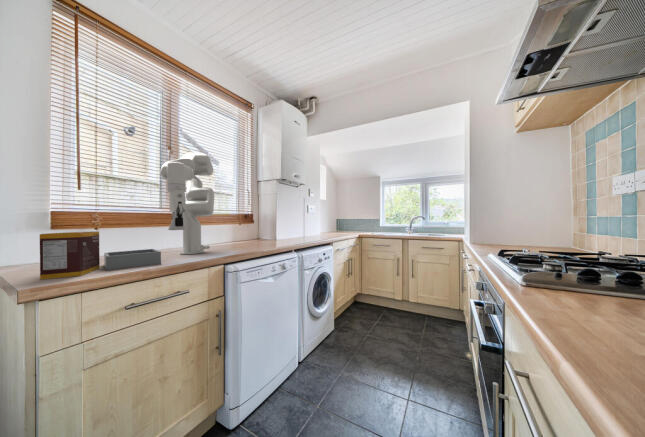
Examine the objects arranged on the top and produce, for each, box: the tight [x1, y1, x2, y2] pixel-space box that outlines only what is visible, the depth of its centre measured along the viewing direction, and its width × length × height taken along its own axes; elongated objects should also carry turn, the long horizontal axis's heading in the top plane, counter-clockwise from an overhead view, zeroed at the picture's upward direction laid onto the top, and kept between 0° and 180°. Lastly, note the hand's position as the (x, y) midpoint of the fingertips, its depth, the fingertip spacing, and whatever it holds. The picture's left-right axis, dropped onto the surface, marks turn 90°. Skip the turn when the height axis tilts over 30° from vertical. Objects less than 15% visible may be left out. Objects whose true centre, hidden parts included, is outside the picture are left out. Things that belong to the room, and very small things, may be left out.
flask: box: [167, 212, 187, 231], centre depth 110 cm, size 7×7×10 cm
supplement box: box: [39, 230, 101, 280], centre depth 86 cm, size 10×15×16 cm
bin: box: [103, 248, 162, 271], centre depth 103 cm, size 18×18×6 cm
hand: (177, 225), depth 111 cm, fingers closed on flask, 5 cm apart
